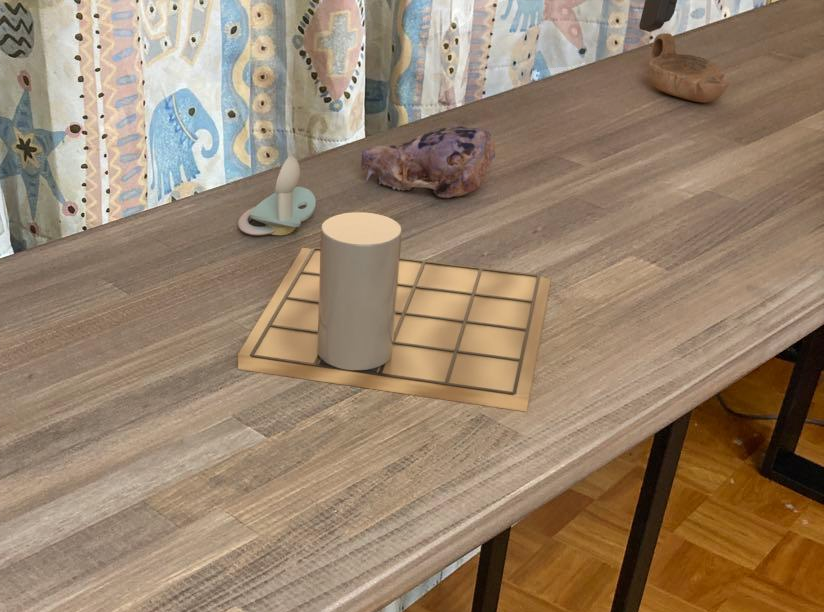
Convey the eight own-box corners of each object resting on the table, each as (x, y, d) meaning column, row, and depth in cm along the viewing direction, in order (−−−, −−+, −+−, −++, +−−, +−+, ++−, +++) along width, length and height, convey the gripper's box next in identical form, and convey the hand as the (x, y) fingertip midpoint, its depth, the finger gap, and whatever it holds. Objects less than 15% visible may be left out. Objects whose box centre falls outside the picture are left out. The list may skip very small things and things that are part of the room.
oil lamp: (739, 109, 122) (751, 61, 119) (676, 113, 121) (687, 65, 118) (681, 73, 132) (691, 28, 129) (622, 76, 131) (631, 31, 128)
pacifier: (225, 238, 96) (290, 248, 94) (221, 165, 92) (289, 174, 90) (259, 207, 101) (322, 215, 99) (257, 136, 97) (322, 144, 95)
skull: (348, 184, 103) (358, 114, 100) (374, 167, 110) (384, 101, 106) (475, 211, 100) (489, 141, 97) (494, 192, 106) (508, 125, 103)
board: (549, 291, 88) (552, 276, 87) (526, 413, 74) (529, 395, 74) (302, 260, 92) (302, 245, 91) (237, 370, 78) (236, 353, 77)
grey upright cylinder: (398, 339, 79) (408, 216, 74) (384, 375, 75) (393, 249, 70) (326, 329, 80) (331, 207, 75) (309, 364, 76) (312, 239, 71)
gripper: (584, -324, 66) (518, -29, 69) (792, -249, 69) (719, 29, 73) (532, -269, 73) (474, -3, 76) (722, -203, 76) (659, 48, 80)
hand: (594, 12), depth 74 cm, fingers open, 8 cm apart
